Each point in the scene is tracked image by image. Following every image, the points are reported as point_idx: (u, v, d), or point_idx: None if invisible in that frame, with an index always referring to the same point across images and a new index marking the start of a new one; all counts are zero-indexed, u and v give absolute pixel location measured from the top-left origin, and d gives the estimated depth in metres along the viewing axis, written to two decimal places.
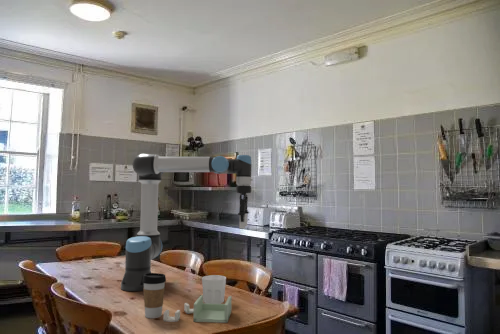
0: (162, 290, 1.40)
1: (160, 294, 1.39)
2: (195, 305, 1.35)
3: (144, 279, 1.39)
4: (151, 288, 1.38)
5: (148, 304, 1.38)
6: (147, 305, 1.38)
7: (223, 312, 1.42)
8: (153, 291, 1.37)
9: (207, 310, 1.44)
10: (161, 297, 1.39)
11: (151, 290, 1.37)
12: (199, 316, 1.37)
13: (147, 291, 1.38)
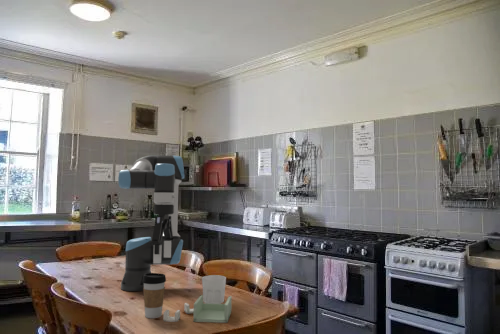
0: (162, 290, 1.40)
1: (160, 294, 1.39)
2: (195, 305, 1.35)
3: (144, 279, 1.39)
4: (151, 288, 1.38)
5: (148, 304, 1.38)
6: (147, 305, 1.38)
7: (223, 312, 1.42)
8: (153, 291, 1.37)
9: (207, 310, 1.44)
10: (161, 297, 1.39)
11: (151, 290, 1.37)
12: (199, 316, 1.37)
13: (147, 291, 1.38)
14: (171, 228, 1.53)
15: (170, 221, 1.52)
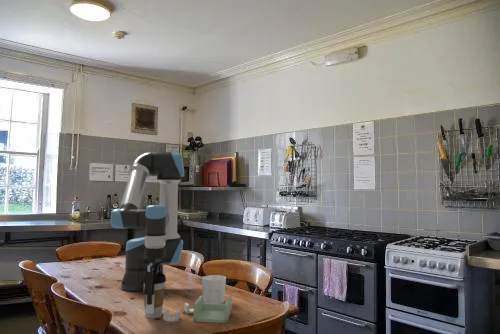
0: (162, 290, 1.40)
1: (160, 294, 1.39)
2: (195, 305, 1.35)
3: (144, 279, 1.39)
4: None
5: None
6: None
7: (223, 312, 1.42)
8: None
9: (207, 310, 1.44)
10: (161, 297, 1.39)
11: None
12: (199, 316, 1.37)
13: None
14: (162, 273, 1.47)
15: (162, 265, 1.47)
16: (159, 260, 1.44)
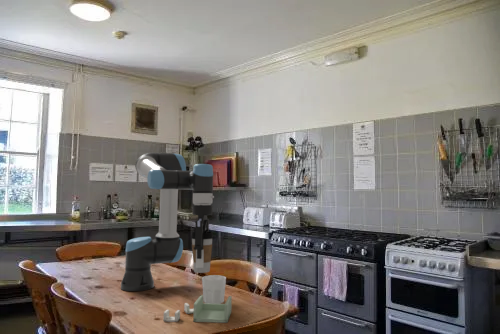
0: (210, 246, 1.43)
1: (208, 249, 1.42)
2: (195, 305, 1.35)
3: (193, 235, 1.42)
4: None
5: None
6: None
7: (223, 312, 1.42)
8: None
9: (207, 310, 1.44)
10: (209, 253, 1.43)
11: None
12: (199, 316, 1.37)
13: None
14: None
15: (208, 224, 1.50)
16: (206, 218, 1.47)
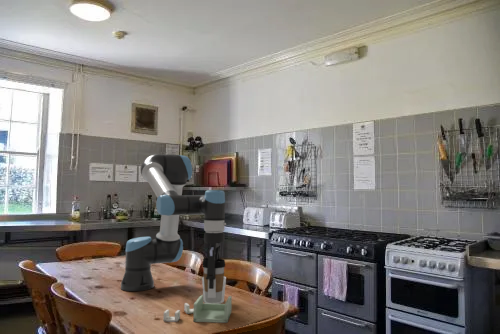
0: (222, 275, 1.39)
1: (220, 278, 1.38)
2: (195, 305, 1.35)
3: (205, 263, 1.39)
4: None
5: None
6: None
7: (223, 312, 1.42)
8: None
9: (207, 310, 1.44)
10: (221, 282, 1.39)
11: None
12: (199, 316, 1.37)
13: None
14: None
15: None
16: (218, 245, 1.44)
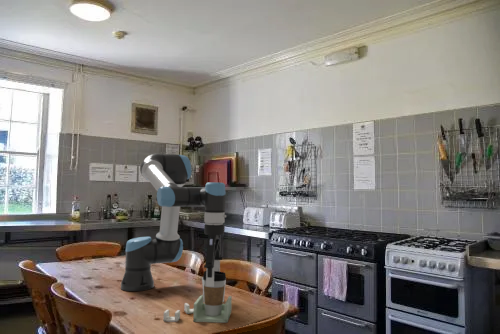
0: (223, 288, 1.39)
1: (221, 292, 1.38)
2: (195, 305, 1.35)
3: (205, 276, 1.39)
4: None
5: (209, 301, 1.37)
6: (208, 302, 1.37)
7: (223, 312, 1.42)
8: (215, 288, 1.37)
9: None
10: (222, 295, 1.39)
11: (213, 288, 1.37)
12: (199, 316, 1.37)
13: (209, 288, 1.37)
14: None
15: None
16: (217, 238, 1.44)
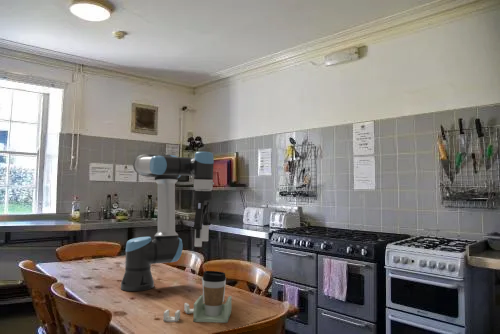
0: (223, 288, 1.39)
1: (221, 292, 1.38)
2: (195, 305, 1.35)
3: (205, 277, 1.38)
4: (213, 286, 1.37)
5: (209, 302, 1.37)
6: (208, 303, 1.37)
7: (223, 312, 1.42)
8: (215, 289, 1.37)
9: None
10: (222, 295, 1.39)
11: (213, 288, 1.37)
12: (199, 316, 1.37)
13: (209, 289, 1.37)
14: (208, 213, 1.60)
15: (208, 207, 1.58)
16: (206, 204, 1.55)
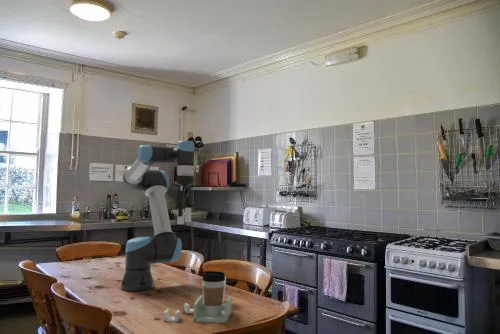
0: (222, 288, 1.39)
1: (220, 292, 1.38)
2: (195, 305, 1.35)
3: (205, 277, 1.38)
4: (212, 286, 1.37)
5: (209, 302, 1.37)
6: (208, 303, 1.37)
7: (223, 312, 1.42)
8: (214, 288, 1.37)
9: None
10: (221, 295, 1.39)
11: (212, 288, 1.37)
12: (199, 316, 1.37)
13: (208, 289, 1.37)
14: (191, 197, 1.79)
15: (190, 191, 1.77)
16: (188, 188, 1.73)
